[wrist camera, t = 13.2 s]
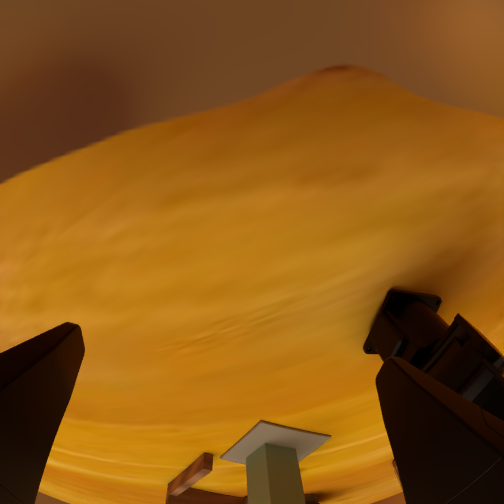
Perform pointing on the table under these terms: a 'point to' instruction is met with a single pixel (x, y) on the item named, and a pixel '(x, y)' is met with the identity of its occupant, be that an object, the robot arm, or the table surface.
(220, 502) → the frame
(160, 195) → the table surface
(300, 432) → the felt mat
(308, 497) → the mortar and pestle
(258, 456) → the green block
